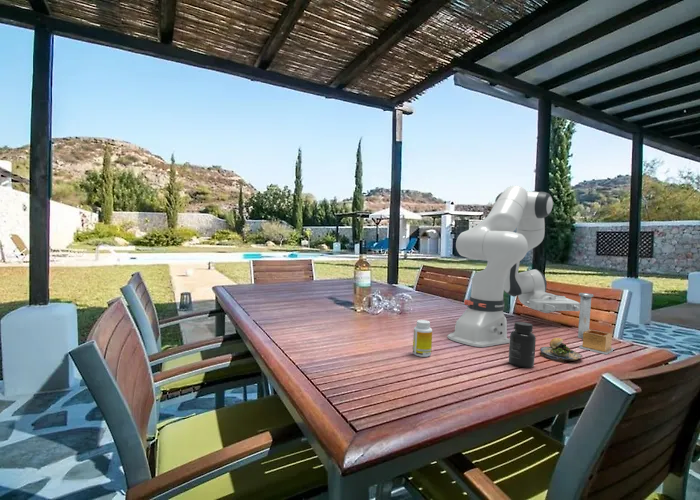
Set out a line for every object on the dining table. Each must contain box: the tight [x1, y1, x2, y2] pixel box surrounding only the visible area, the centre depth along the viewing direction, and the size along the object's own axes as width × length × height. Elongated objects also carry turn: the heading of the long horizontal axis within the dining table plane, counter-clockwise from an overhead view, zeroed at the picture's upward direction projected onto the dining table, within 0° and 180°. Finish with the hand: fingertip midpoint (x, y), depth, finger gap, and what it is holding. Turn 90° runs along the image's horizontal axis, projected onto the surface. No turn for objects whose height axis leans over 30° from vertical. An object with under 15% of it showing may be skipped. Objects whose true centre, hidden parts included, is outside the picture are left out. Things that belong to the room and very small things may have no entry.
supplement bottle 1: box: [412, 319, 433, 358], centre depth 114 cm, size 6×6×10 cm
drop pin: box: [577, 292, 594, 340], centre depth 140 cm, size 5×5×17 cm
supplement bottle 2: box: [508, 321, 537, 369], centre depth 108 cm, size 7×7×12 cm
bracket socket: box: [578, 328, 615, 355], centre depth 127 cm, size 8×8×6 cm
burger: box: [538, 337, 584, 363], centre depth 117 cm, size 12×12×8 cm
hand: (566, 309), depth 151 cm, fingers open, 8 cm apart
